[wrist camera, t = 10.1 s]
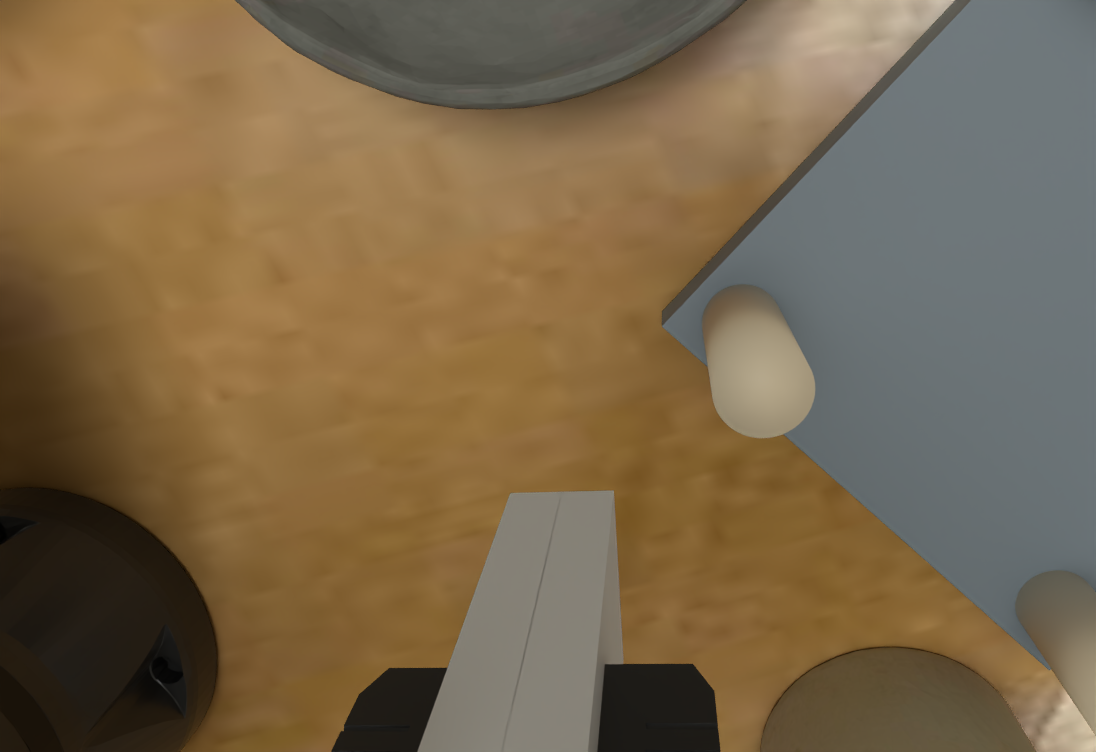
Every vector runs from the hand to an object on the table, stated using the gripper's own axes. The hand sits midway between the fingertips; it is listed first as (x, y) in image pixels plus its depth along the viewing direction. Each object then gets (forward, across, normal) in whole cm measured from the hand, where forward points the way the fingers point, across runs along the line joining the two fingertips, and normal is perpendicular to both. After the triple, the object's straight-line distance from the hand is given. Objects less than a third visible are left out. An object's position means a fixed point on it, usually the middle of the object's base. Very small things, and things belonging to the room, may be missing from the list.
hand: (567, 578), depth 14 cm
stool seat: (+24, +16, -1) cm, 29 cm away
